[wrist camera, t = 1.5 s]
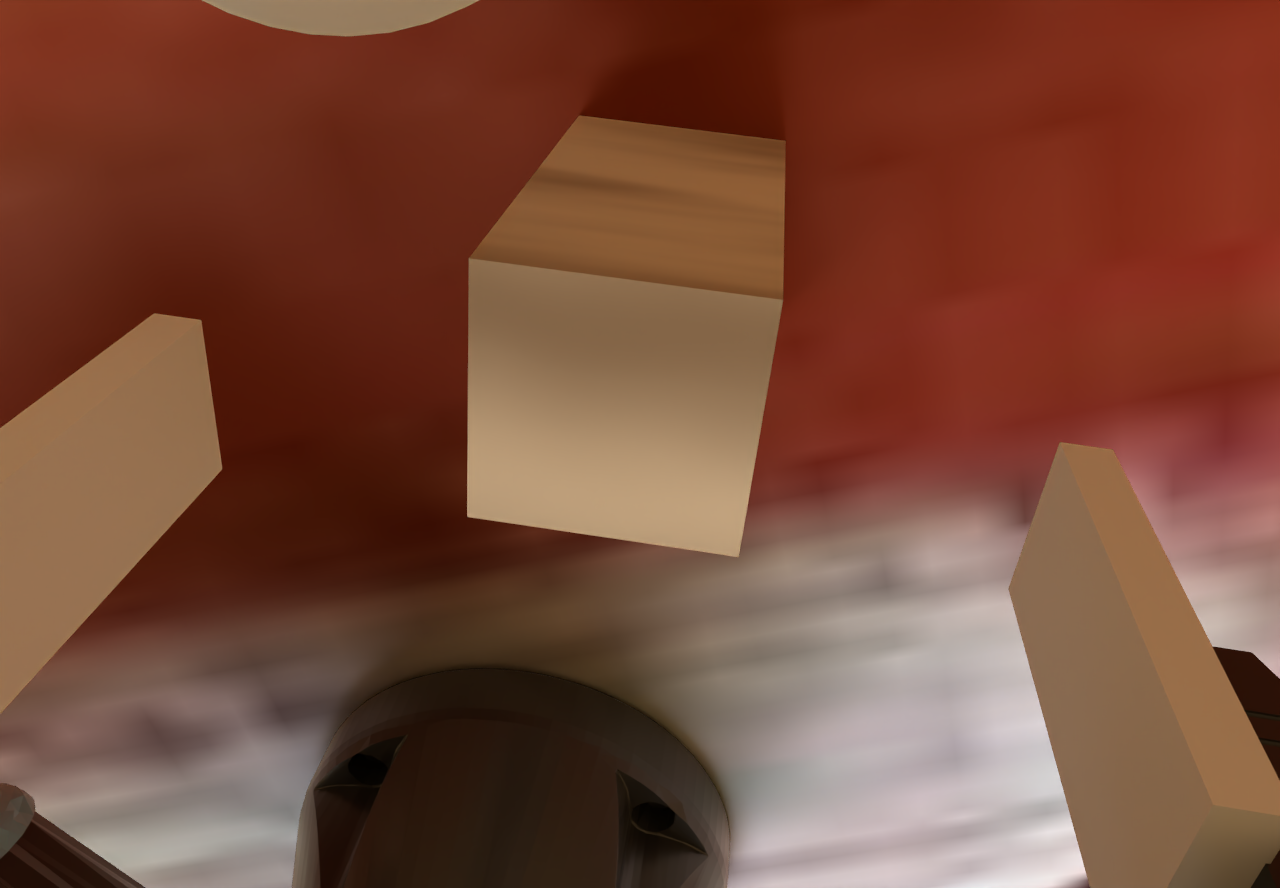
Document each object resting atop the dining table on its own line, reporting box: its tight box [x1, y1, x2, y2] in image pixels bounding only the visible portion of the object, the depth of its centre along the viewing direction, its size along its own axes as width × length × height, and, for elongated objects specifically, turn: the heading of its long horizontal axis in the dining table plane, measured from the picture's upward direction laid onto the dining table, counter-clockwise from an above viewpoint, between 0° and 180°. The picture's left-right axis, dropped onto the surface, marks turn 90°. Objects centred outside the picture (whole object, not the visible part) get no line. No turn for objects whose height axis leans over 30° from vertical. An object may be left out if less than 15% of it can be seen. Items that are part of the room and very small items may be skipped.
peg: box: [467, 115, 786, 557], centre depth 22 cm, size 5×5×10 cm
